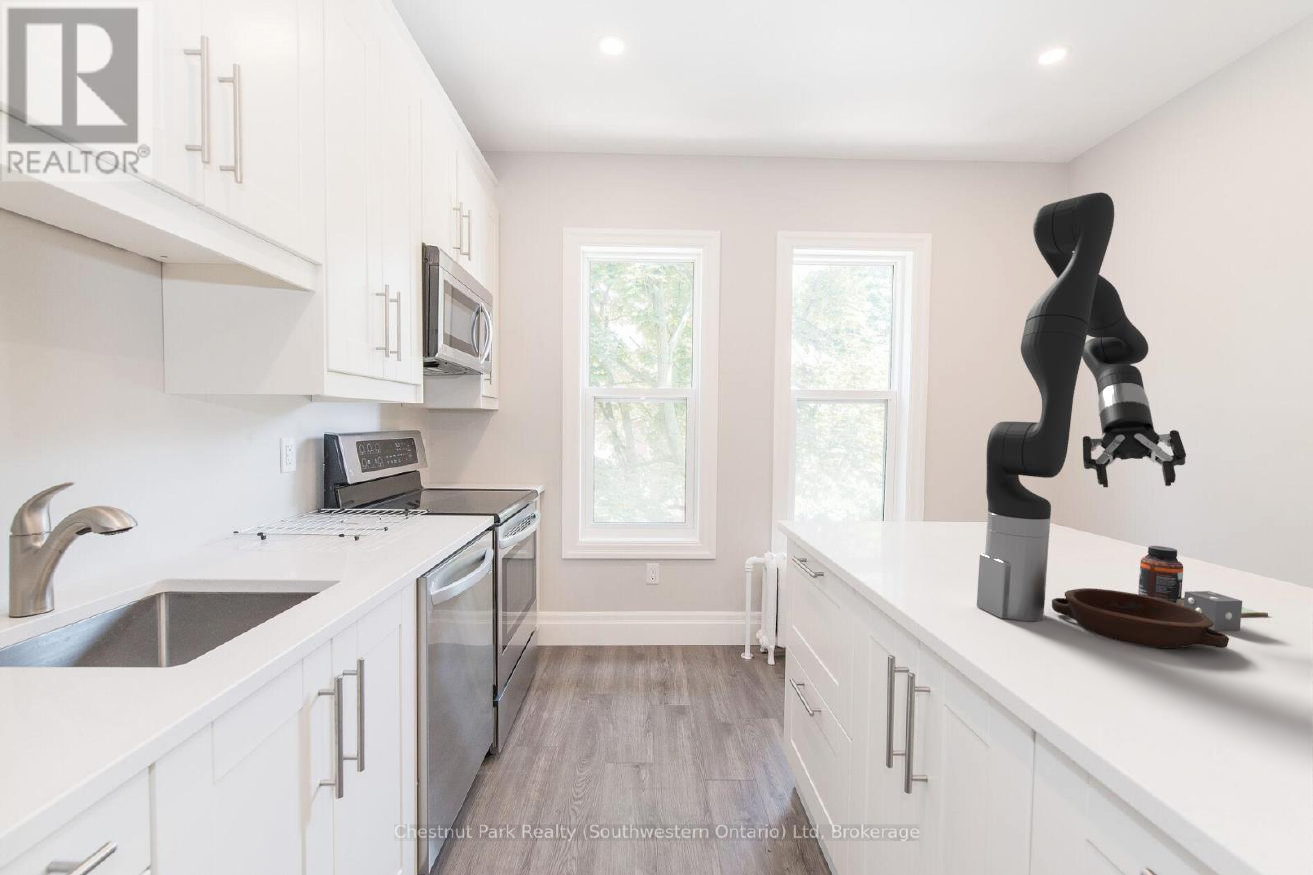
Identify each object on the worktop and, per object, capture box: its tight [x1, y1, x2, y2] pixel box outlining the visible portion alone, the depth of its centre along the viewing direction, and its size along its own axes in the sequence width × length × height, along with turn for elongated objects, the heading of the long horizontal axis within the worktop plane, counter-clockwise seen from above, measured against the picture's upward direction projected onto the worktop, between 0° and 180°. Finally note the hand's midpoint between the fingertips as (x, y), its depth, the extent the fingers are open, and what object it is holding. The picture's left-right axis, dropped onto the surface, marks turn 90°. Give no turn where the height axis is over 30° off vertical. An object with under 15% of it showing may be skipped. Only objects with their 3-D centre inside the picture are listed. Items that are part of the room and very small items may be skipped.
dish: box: [1051, 587, 1230, 649], centre depth 93 cm, size 18×22×5 cm
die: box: [1183, 590, 1243, 632], centre depth 98 cm, size 5×5×5 cm
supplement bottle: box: [1137, 545, 1184, 605], centre depth 105 cm, size 6×6×11 cm
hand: (1136, 484), depth 101 cm, fingers open, 8 cm apart
